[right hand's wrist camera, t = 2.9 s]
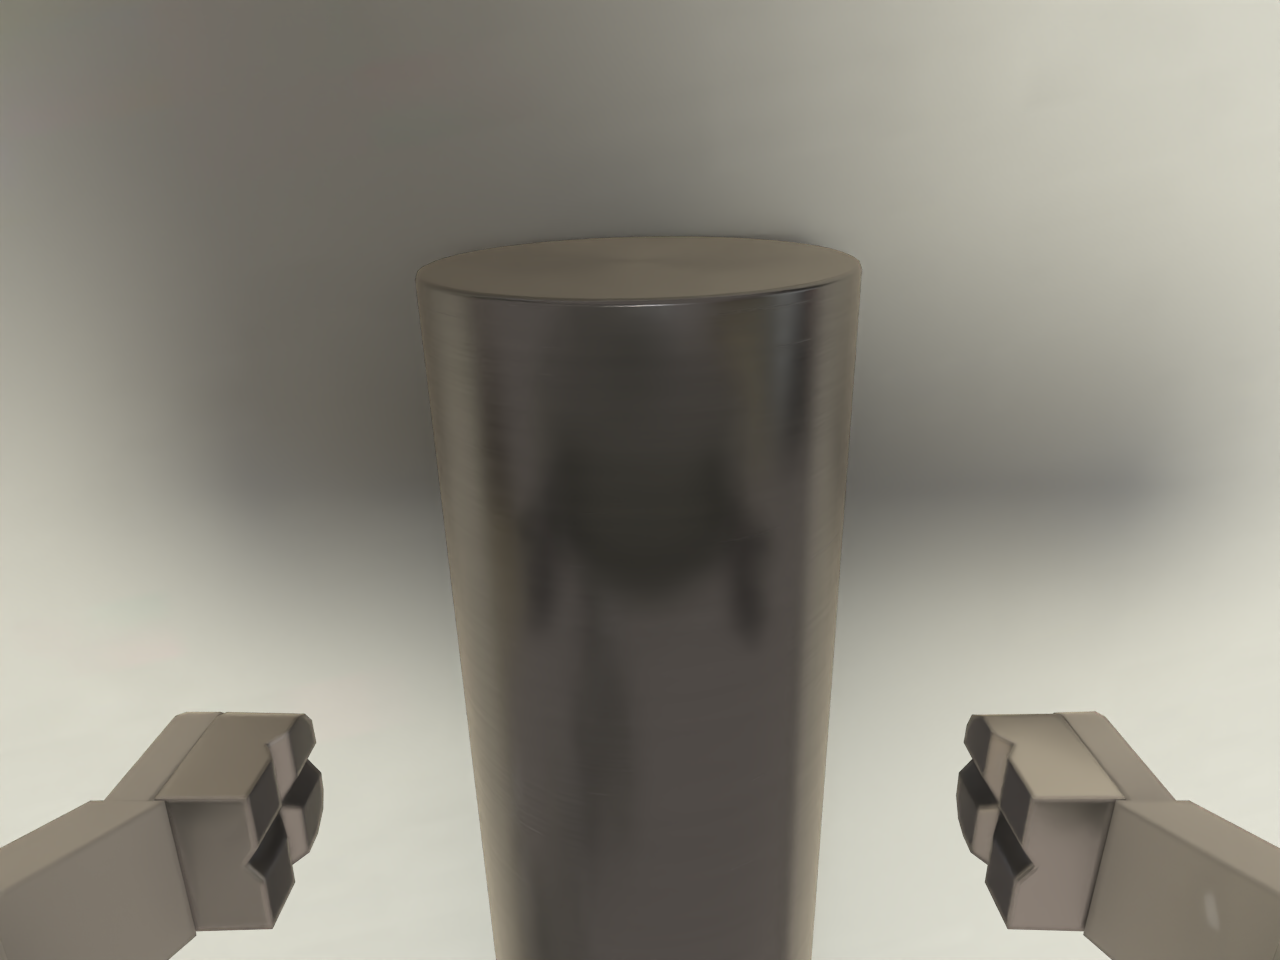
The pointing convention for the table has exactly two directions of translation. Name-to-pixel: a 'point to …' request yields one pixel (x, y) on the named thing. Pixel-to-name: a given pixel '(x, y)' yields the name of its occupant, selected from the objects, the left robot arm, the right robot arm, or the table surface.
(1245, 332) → the table surface
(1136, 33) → the table surface
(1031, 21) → the table surface
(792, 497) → the rod
